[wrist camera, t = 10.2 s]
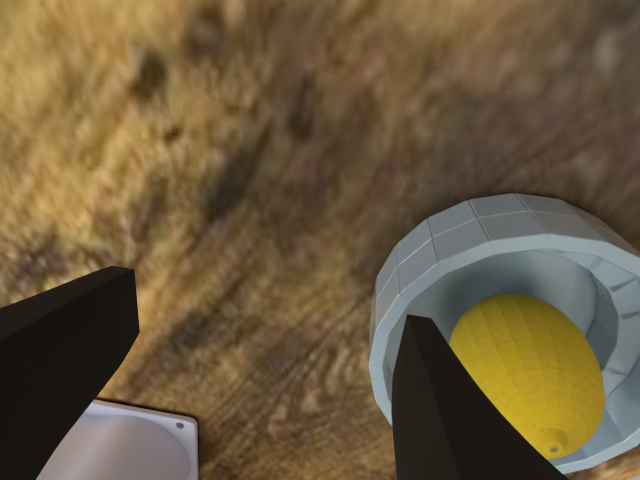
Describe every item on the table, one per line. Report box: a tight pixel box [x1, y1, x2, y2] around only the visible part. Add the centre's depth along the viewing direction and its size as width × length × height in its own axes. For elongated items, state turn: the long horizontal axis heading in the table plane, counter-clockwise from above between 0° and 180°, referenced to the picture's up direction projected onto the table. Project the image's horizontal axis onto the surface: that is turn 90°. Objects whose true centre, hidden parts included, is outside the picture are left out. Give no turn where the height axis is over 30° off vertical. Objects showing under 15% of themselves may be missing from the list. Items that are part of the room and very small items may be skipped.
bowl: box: [369, 193, 640, 474], centre depth 20 cm, size 12×12×5 cm
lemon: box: [449, 293, 605, 460], centre depth 18 cm, size 6×6×8 cm
